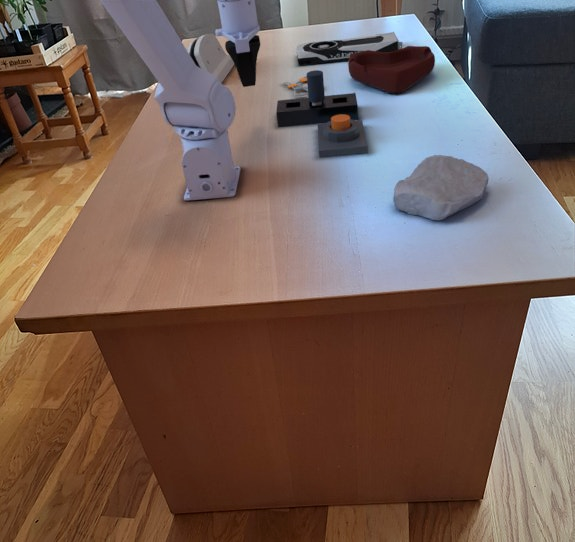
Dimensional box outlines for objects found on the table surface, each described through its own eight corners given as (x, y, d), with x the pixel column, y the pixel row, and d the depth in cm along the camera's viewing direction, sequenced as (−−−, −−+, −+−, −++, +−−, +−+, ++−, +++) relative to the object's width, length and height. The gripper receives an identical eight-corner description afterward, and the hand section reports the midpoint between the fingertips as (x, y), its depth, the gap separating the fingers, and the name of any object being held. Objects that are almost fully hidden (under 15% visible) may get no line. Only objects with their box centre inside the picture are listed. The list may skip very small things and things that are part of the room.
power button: (351, 130, 92) (350, 120, 91) (331, 132, 92) (331, 122, 91) (349, 123, 95) (349, 113, 94) (331, 124, 95) (330, 115, 94)
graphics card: (402, 40, 127) (295, 52, 129) (402, 55, 129) (297, 66, 131) (396, 29, 135) (295, 40, 137) (396, 43, 137) (297, 54, 139)
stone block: (489, 198, 78) (427, 171, 83) (499, 171, 75) (434, 144, 79) (450, 241, 72) (385, 209, 76) (459, 213, 68) (391, 181, 73)
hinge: (219, 85, 126) (197, 44, 121) (202, 93, 128) (179, 52, 123) (235, 62, 139) (215, 24, 134) (219, 70, 141) (199, 32, 136)
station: (367, 154, 90) (367, 136, 88) (319, 158, 91) (317, 141, 89) (362, 127, 99) (361, 111, 97) (318, 131, 100) (316, 115, 98)
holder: (358, 120, 102) (357, 104, 100) (278, 127, 103) (276, 112, 101) (355, 108, 107) (355, 92, 105) (279, 115, 108) (277, 100, 106)
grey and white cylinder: (328, 115, 105) (325, 70, 100) (322, 121, 103) (319, 76, 98) (313, 114, 106) (310, 70, 101) (308, 120, 104) (303, 75, 99)
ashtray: (352, 101, 110) (351, 75, 107) (347, 74, 123) (346, 51, 120) (443, 92, 108) (444, 66, 105) (428, 66, 121) (429, 43, 118)
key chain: (325, 93, 115) (324, 89, 114) (290, 99, 114) (290, 95, 114) (313, 75, 125) (312, 71, 124) (281, 80, 124) (281, 76, 124)
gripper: (210, -9, 90) (225, 74, 98) (208, 11, 79) (225, 103, 87) (253, -15, 90) (264, 69, 98) (257, 4, 79) (269, 97, 87)
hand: (249, 85), depth 93 cm, fingers closed
